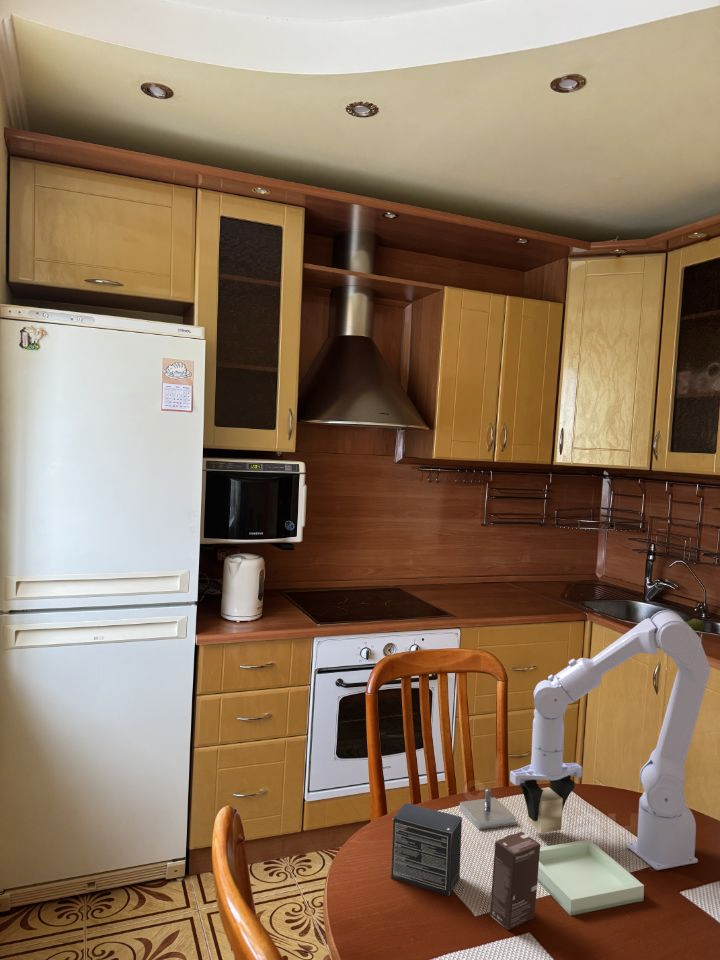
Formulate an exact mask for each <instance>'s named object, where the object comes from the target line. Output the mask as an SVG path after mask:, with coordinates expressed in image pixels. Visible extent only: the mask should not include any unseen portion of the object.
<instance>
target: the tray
mask: <svg viewBox="0 0 720 960" xmlns="http://www.w3.org/2000/svg"><path fill="white" fill-rule="evenodd" d="M537 883H539V884H540V885H541V886H542V888H544V889H545V890H546V892H547V893H548V894H549V895H550V896H551V897H552V898H553V899H554V900H555V901H556V902H557V903H558V904H559V905H560V907H562V909H564V911H565V912H567V914H568V915H569V916H575V915H581V914H586V913H590V912H594V911H601V910H604V909H610V908H614V907H618V906H619V907H620V906H623V905H624V906H625V905H629V904H633V903H639V902H644V896H645V894H644V893H645V885H644V884H643V883H642V882H640V881H639V879H637V878H636V877H634V875H633V874H631V872H629V871H627V869H625V868H624V867H623V866H622V865H620V864H619V863H618V861H616V860H615V859H613V858H612V857H611V856H610V855H608V854H607V852H605V851H604V850H602V848H601V847H599V845H597V844H596V843H594V842H593V841H592V840H591V839H583V840H577V841H572V842H567V843H566V842H565V843H559V844H552V845H547V846H540V855H539V867H538V880H537Z"/></svg>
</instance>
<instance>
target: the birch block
mask: <svg viewBox="0 0 720 960" xmlns="http://www.w3.org/2000/svg"><path fill="white" fill-rule="evenodd" d="M540 788H541V787H540ZM541 789H542V790H543V792H542V795H541V798H540V803H539V814H538V820H537V821H533V820H532V819H531V818H530V817H529V816H528V813H527V815H526V817H527V820H526V821H527V823H529V824H530V825H531V826H532V827H534V829H535V830H536V831H537V832H539V834H545V833H550V832H557V831H561V830H562V823H563V822H562V820H563V810H562V802H563V798H562V797H560V796H559V795H558V794H557V793H555V792H554V791H553V790H552V789H551V787H549V786H548V787H542V788H541Z"/></svg>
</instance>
